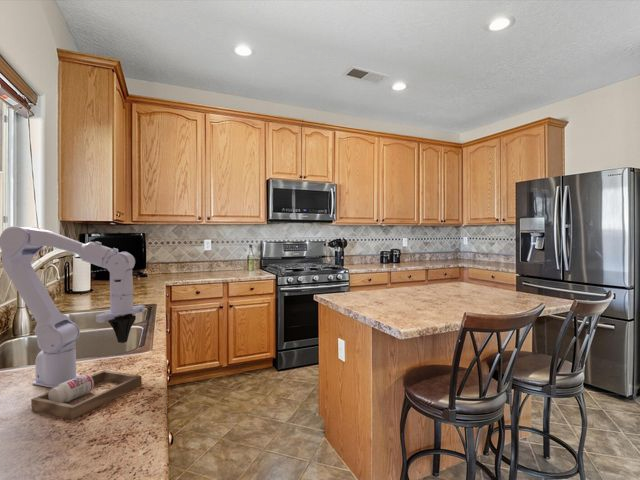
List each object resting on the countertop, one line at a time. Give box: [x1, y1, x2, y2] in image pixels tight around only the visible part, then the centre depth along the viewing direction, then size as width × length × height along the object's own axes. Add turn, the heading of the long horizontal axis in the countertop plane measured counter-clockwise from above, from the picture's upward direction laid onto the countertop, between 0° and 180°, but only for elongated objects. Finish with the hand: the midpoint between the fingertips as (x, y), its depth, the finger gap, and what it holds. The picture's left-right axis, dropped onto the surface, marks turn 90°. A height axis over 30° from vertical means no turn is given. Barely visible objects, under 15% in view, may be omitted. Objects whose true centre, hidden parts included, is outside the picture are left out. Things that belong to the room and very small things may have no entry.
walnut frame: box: [30, 369, 142, 420], centre depth 88 cm, size 14×18×2 cm
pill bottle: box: [47, 373, 95, 404], centre depth 86 cm, size 5×5×8 cm
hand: (122, 342), depth 100 cm, fingers closed
